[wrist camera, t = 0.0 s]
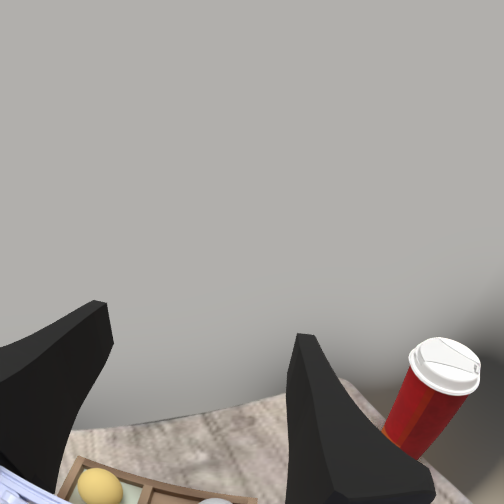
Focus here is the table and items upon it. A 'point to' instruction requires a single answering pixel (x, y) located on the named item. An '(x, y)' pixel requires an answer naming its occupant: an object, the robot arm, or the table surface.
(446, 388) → the paper cup
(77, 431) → the table surface
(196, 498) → the sorting board
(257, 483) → the table surface
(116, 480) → the ochre ball
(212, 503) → the grey ball
